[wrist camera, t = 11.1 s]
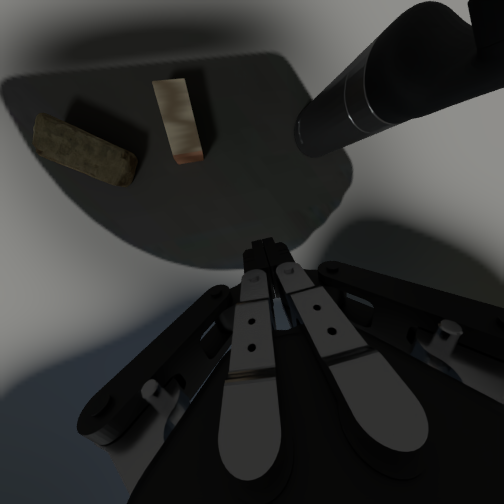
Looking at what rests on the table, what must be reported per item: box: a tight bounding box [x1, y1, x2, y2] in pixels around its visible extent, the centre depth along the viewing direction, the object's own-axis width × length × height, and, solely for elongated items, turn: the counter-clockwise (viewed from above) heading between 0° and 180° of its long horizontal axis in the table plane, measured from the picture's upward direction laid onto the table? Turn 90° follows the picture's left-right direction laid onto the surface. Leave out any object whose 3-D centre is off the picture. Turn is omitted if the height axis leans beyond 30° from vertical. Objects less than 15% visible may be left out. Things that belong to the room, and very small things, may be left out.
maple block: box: [152, 78, 204, 164], centre depth 30 cm, size 4×4×10 cm
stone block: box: [32, 113, 138, 187], centre depth 28 cm, size 6×12×5 cm, turn 67°
